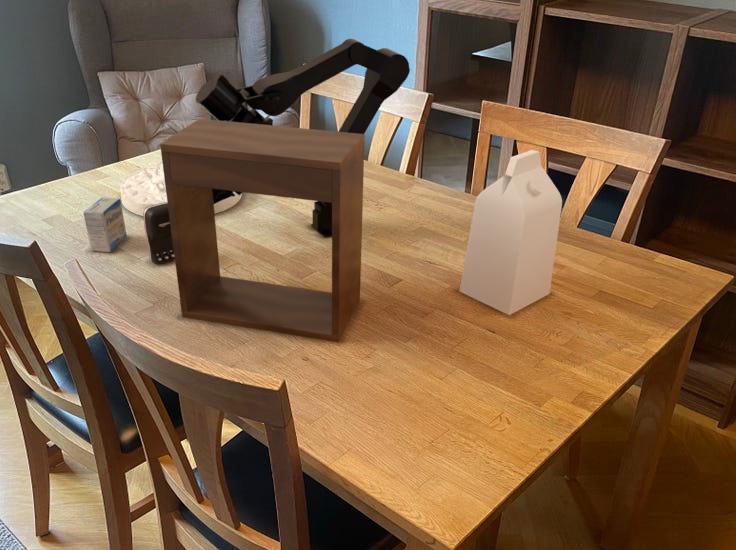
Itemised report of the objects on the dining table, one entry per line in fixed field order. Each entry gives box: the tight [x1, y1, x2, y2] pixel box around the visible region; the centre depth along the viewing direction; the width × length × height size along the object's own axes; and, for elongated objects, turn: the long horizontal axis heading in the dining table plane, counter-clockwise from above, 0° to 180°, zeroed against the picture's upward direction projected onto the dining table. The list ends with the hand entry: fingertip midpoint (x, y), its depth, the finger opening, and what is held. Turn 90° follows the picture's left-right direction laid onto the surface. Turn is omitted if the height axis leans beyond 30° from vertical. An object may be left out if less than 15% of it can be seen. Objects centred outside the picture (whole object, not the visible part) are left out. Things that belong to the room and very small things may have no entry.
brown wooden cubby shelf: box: [159, 118, 365, 343], centre depth 122 cm, size 14×28×30 cm, turn 74°
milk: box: [458, 149, 563, 316], centre depth 129 cm, size 12×12×26 cm
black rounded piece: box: [142, 202, 175, 265], centre depth 144 cm, size 7×4×11 cm, turn 126°
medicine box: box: [83, 197, 128, 253], centre depth 150 cm, size 8×4×9 cm, turn 168°
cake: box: [119, 161, 243, 217], centre depth 172 cm, size 28×28×10 cm
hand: (187, 202), depth 143 cm, fingers open, 9 cm apart
